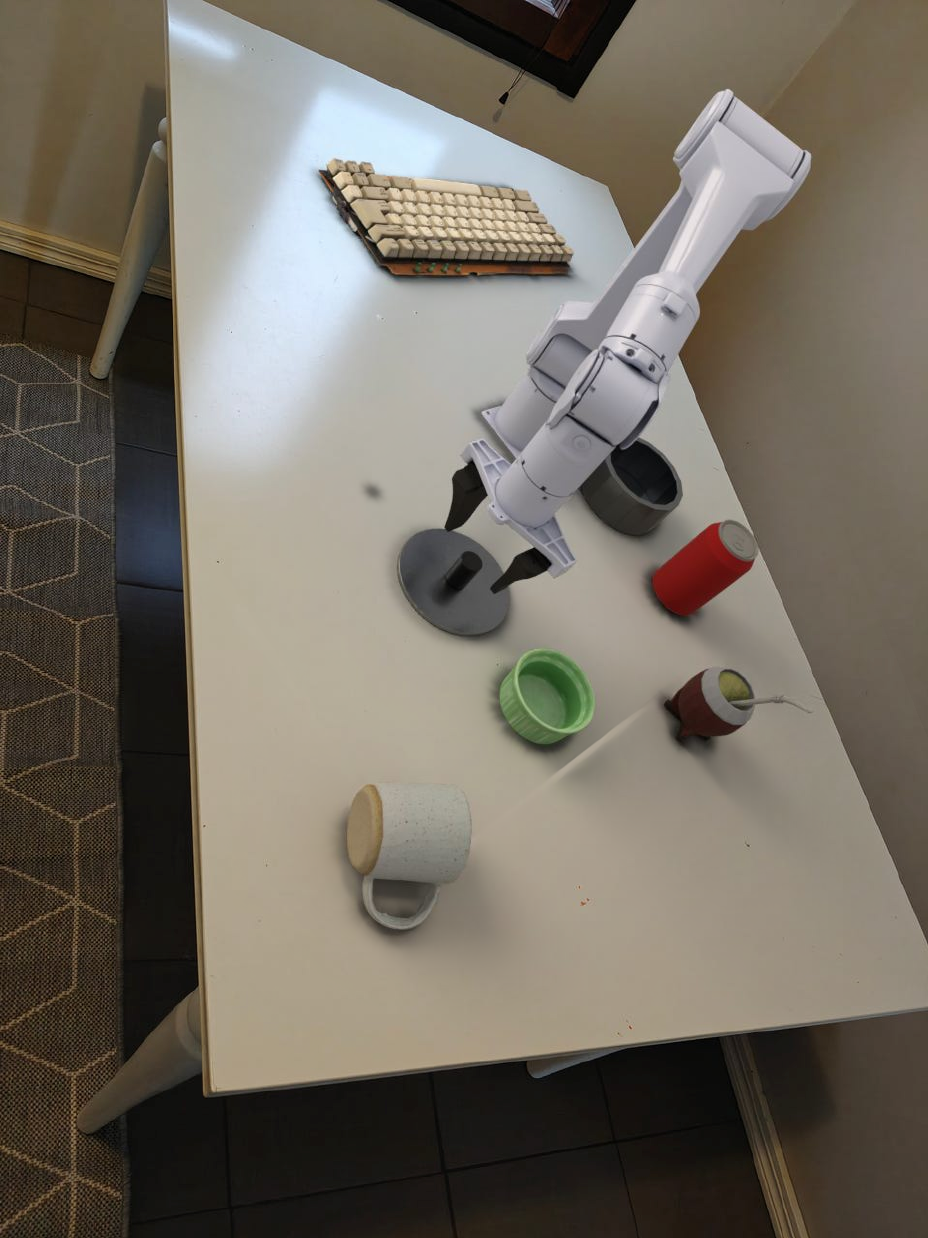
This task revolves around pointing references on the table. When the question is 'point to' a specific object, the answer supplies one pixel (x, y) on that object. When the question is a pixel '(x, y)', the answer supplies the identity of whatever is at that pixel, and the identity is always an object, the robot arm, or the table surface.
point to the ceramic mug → (409, 839)
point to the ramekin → (547, 696)
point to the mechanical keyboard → (445, 224)
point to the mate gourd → (717, 703)
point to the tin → (633, 488)
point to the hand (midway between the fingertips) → (475, 557)
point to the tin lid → (452, 582)
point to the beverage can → (705, 567)
